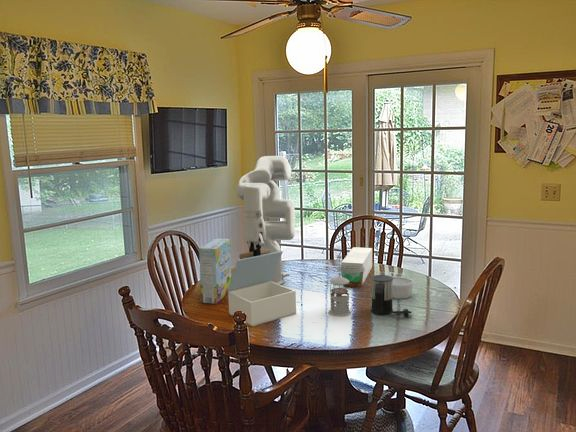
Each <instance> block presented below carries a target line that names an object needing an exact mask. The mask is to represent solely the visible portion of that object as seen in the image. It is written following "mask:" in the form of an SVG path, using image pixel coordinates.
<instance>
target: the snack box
mask: <svg viewBox="0 0 576 432" xmlns="http://www.w3.org/2000/svg"><path fill="white" fill-rule="evenodd" d="M231 249H232V248H231V239H230V238H214V239H212V240H211V241H209V242H207V243H206V244H204V245H203V246H201V247H199V248H198V253H199V254H198V255H199V257H198V259H199V260H198V261H199V285H200V286H199V287H200V303H203V304H215V305H216V304H218V303H219V302H221V300H222V299H223V298H224V297H225V296H226V295H228V292H229V291H228V287H229V284H230V281H231V278H232V257H231V256H232V255H231V253H232V252H231Z"/></svg>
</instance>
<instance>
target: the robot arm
mask: <svg viewBox="0 0 576 432" xmlns="http://www.w3.org/2000/svg"><path fill="white" fill-rule="evenodd" d="M291 176H292V166H291V164H290V162H289V161H288V159H287V158H286V157H285V156H282V155H264V156H261V157H260V158H258V160H257V162H256V164H255V166H254V170H252V171H249V172H248V173H246V174H244V175H242V176H241V178H240V179H239V180H238V183H237V186H236V197H237V198H238V200H240V201H243V206H244V208H243V209H244V211H243V212H244V223H243V225H244V227H243V234H244V241H245V242H246V243H247V246H248V247H247V248H248V252H253V253H254V256H259V255H261V250H263V249H270V253H274V252H279V251H282V249H281V246H280V244H279V243H278V242H277V241H291V240H293V239H294V238H295V231H296V227H295V225H296V224H295V223H296V216H295V215H296V212H295V204H294V201H293V200H292V199H290V198H289V199H288V198H287V199H286V198H281V194H280V193H281V192H280V191H281V190H280V188H279V186H278V185H277V183H276V182H275V181H277V182H278V181H284V182H285V181H289V180H290V179H291ZM265 218H268V219H283V220H264V219H265ZM284 219H285V220H284ZM290 275H291V274H290V272H288V271H287V272H282V256H281V257H280V260H279V262H278V265H277V267H276V270H275V272H274V275H273V277H272V280H271V281H272V282H275V283H277V284H280V285H282V286H283V285H284V284H285V282H286V280H285V278H286V277H289V276H290ZM268 282H270V281H268ZM264 283H266V282H264ZM260 284H261V283H260Z"/></svg>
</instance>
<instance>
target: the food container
mask: <svg viewBox="0 0 576 432" xmlns="http://www.w3.org/2000/svg"><path fill="white" fill-rule="evenodd" d="M341 271H342V273H341V274H342V275H341V276H342V277H343V278H346V279H347V280H349V283H348V284H346V285H342V286H343V288H346V289H359V288H361V287H362V286H363V284H362V281H363V272H364V271H365V268H364V267H362V268H357V267H352V266H351V267H344V266H342V265H341V264H340V272H341Z"/></svg>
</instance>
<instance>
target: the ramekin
mask: <svg viewBox="0 0 576 432" xmlns="http://www.w3.org/2000/svg"><path fill="white" fill-rule="evenodd" d="M392 277H393V286H392V299H395V300H404V299H405V300H406V299H408V298H410V297H411V296H412V292H413V286H414V280H413V279H412V278H409V277H404V276H392Z"/></svg>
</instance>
